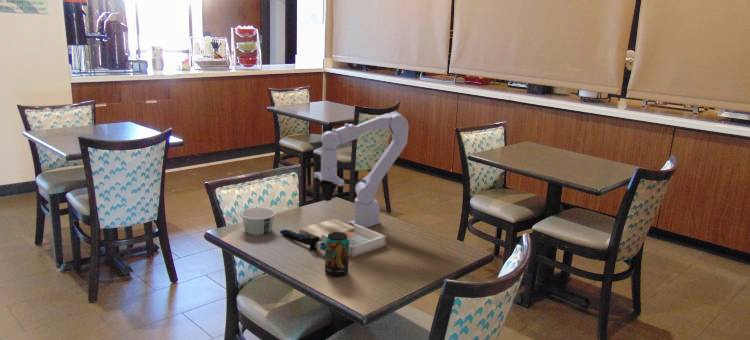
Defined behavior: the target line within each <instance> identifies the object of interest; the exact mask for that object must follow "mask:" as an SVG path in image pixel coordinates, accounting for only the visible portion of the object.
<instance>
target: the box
mask: <svg viewBox="0 0 750 340" xmlns="http://www.w3.org/2000/svg"><path fill="white" fill-rule="evenodd" d="M353 227H354V230H353V232H352V233H354V234H357V235H359V236H361V237H364V238H366V239H367V241H365V242H362V243H359V244H357V245H354V246H352V245H350V244H349V258H354V257H358V256H360V255H363V254H366V253H369V252H371V251H375V250H377V249H379V248H382V247H385V246H386V245H387V244H386V243H387V236H386V235H385V234H382V233H379V232H377V231H375V230H372V229H370V228H368V227H367V228H365V227H362V226H360V225H357V224H354V225H353ZM327 238H328V235H326V234H322V237H321V242H326V239H327Z"/></svg>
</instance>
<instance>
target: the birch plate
mask: <svg viewBox="0 0 750 340" xmlns="http://www.w3.org/2000/svg"><path fill="white" fill-rule="evenodd" d="M353 230H354V226H352V225H350V224H347V223H345V222H343V221H340V220H338V219H335V218H332V219H329V220H325V221H321V222H318V223H314V224H310V225H307V226H303V227H301V228H299V230H298V234H301V235H310V238H314V237H317V236H318V237H319V242H321V237H322V234H326V235H328V234H330V233H333V232H341V233H346V232H349V231H350V232H353Z"/></svg>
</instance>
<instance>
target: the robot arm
mask: <svg viewBox="0 0 750 340" xmlns="http://www.w3.org/2000/svg"><path fill="white" fill-rule="evenodd" d="M379 128H380V129H382V130H383V129H384V130H387V131H388V130H390V134H391V138H392V139H391V141H390V143H389V145H388V146H387V147H386V148H385V150H384V151H383V153H382V154H381V155H380V157H379V159H377V161H376V163H375V164H374V166H373V167H372V169H371V170H370V171H369V173H368V174H367V175H365V176H364V177H363V178H362V179H361V180H360V181H357V183H356V184H355V186H354V192H355V194H356V197H355V198H354V211H353V212H354V214H353V219H352V220H349V221H348V223H349V224H351V225H353V226H354V224H357V225H360V226H362V227H365V228H367V229H368V228H370V227H372V226H375V225H378V224H381V223H382V222H381V221H380V213H381V212H380V211H381V208H380V207H381V206H380V203H379V201H378V199H376V198H375V197H376V193H377V192H378V190H379V185H380V183H381V182H382V180H383V178H385V176H386V174H387V173H388V172H389V170H390V169H391V167H392V166H393V165H394V163H395V161H397V159H398V157H399V156H400V154H401V153H402V152H403V150H404V149H405V147H406V146H407V144H408V140H409V139H408V138H409V137H408V136H409V129H410V125H409V123H408V119H407V118H406V117H405V116H404V115H402V114H401V113H400V112H398V111H391V112H387V113H384V114H381V115H378V116H377V117H374V118H371V119H369V120H367V121H364V122H361V123H360V124H357V125H355V124H352V123H350V124H349V123H344V126H341V127H339V128H332V129H331V130H327V131H324V132H323V133H322V134H321V137H320V142H321V144H322V145H321V152H320V171H314V172H313V178H314V179H318V180H320V181H319V182H318V185H319V186H320V189H321V191H322V194H323V198H324V201H326V202H329V201H332V198H333V196H334V193H335V190H336V188H337V186H338V187H342V186H344V185H345V180H344V179H342V178H340V177H339V176H338V175H337V169H338V165H337V164H338V152H337V149H338V146H339V145H343V144H346V143H348V142H352V141H354V140H357V139H358V136H359V135H361V134H364V133H367V132H370V131H374V130H377V129H379Z"/></svg>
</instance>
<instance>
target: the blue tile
mask: <svg viewBox="0 0 750 340" xmlns="http://www.w3.org/2000/svg"><path fill="white" fill-rule="evenodd" d="M365 241H367V239H366V238H364V237H361V236H359V235H357V236H354V237H351V238H349V244H350V245H352V246H354V245H357V244H359V243H362V242H365Z"/></svg>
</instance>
